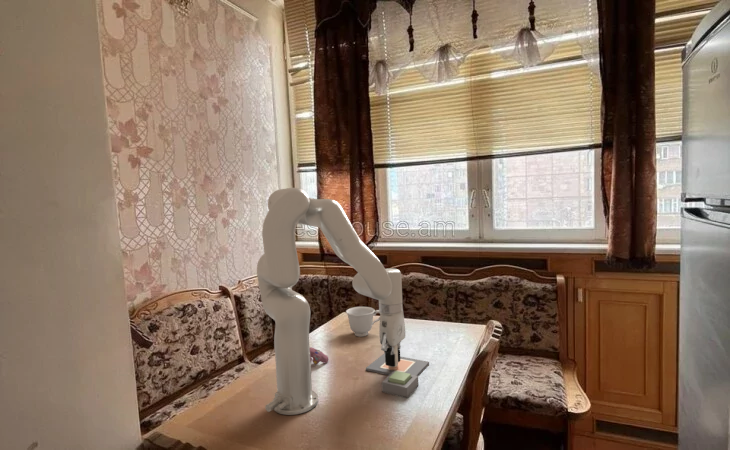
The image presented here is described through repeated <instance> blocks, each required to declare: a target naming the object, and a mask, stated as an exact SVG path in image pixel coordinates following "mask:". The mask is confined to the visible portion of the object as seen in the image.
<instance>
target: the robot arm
mask: <svg viewBox="0 0 730 450" xmlns="http://www.w3.org/2000/svg"><path fill="white" fill-rule="evenodd" d="M267 208H268V211H267V214H266V215H265V218H264V220H263V224H262V230H261V231H262V233H261V235H262V245H263V252H264V253H263V254H262V255H261V256H260V258H259V259H258V261H257V263H256V276H257V283H258V288H259V289H258V290H259V294H260V299H261V304H262V307H263V310H264V312H265V313H266V315H267V316H269V317H270V318H271V319H273V321H274V322H275V323H274V324H275V326H274V336H273V340H274V341H273V344H274V345H273V347H274V355H275V356H274V357H275V358H274V359H275V374H276V375H275V376H276V389H277V391H276V392H275V393H274V398H272V401H270V402H269V403H266V404H265V411H266V412H267V413H270V412H272V411H274V412H275V413H278V414H280V415H284V416H285V415H286V416H294V415H299V414H304V413H307V412H308V411H311V410H312V409H313V408H315V407H316V405H317V404H318V403H319V395H318V394H317V392H316V391H313V387H312V386H313V385H312V384H313V383H312V365H311V363H312V362H310V347H311V346H310V322H311V308H310V303H309V302H308V300H307V299H306V298H305V297H304V296H303V295H302V294H300V293H299V292H296V291H295V290H293V287H294V286H295V285H296V284H297V283H298V282H299V280H300V277H301V268H300V263H299V257H298V252H297V251H298V250H297V245H296V227H297V225H298V224H300V225H304V226H310V227H315V228H319V229H320V231H321V233H322V234H323V235H324V237H325V239H326V240H327V242H328V243H329V246H330V247H331V249H332V250H333V252H334V254H335V255H336V256H337V257H338V258H339V259H340V260H342V261H343V262H344V263H346V264H347V265H349V266H350V267H352V268H353V269H354V270H355V271H356V272H357V273H356V274H355V275H354V276H353V277H352V282H351V284H352V288H353V289H354V290H355V292H357V293H358V294H359V295H363V296H365V297H368V298H370V299H371V298H372V299H374V300H377V301H378V310H379V313H378V314H379V317H380V320H379V343H380V345H381V347H380V350H381V351H383V352H384V353H383V354H385V363H386V365H387V366H392V367H394V366H395V354H393V353H394V346H396V345H397V346H398V362H400V357H401V342H403V340H404V339H405V338H406V323H405V316H404V309H403V286H402V283H403V282H402V272H401V271H400V269H397V268H385V266H384V264H383V263H382V262H381V260H380V259H379V258H378V256H377V255H375V253H374V252H373V251H372V250H371V249H370V248H369V247H368V246H367V245H366V244H365V243H364V242H363V241H362V239H361V238H360V237H359V235H358V233H357V232H356V230H355V228H354V226H353V225H352V222H351V221H350V219H349V217H348V216H347V214H346V211H345V210H344V209H343V207H342V205H341V204H340V203H339V202H338V201H336V200H335V199H330V198H320V199H319V198H318V199H317V198H313V197H310V196H309V194H308V193H307V191H305V190H304V189H302V188H298V187H289V188H280V189H277V190H275V191H273V192H272V193H271V194H270V195H269V197H268V199H267ZM387 342H388V343H389V344H388V343H387ZM388 347H391V350H390V348H388Z"/></svg>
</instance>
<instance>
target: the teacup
mask: <svg viewBox="0 0 730 450" xmlns="http://www.w3.org/2000/svg"><path fill="white" fill-rule="evenodd" d="M345 313H346V314H347V318H348V323H349V328H350V330H351V331H352V332H353V333H354V336H356V337H360V338H361V337H367V336H368V335H369V331H371V330H372V329H373V325H374V324H375V323H377V322H380V316H379V317H378V318H376V319H375V320H373V319H374V316H375V317H376V315H377V314H380V313H379V309H376V310H375V308H373V307H370V306H354V307H350V308H348V309H346V310H345Z"/></svg>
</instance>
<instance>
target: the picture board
mask: <svg viewBox="0 0 730 450" xmlns="http://www.w3.org/2000/svg"><path fill="white" fill-rule="evenodd" d="M429 365H430V361H426V360H421V359H416V358H410V357H405V356H400V362H398V369H397V370H390V369H389V368H388V366H387V365H386V363H385V353H383V354H382V355H380V356H379V357H377V358H376V359H375V360H374V361H372V362H371V363H370V364H369V365H368V366H367V367H365V371H368V372H373V373H377V374H381V375H386V376H389V375H390V374H391V373H392V372H393V371H399V372H404V373H409V374H411V375H415V376H418V377H419V376H420V375H421V374H422V373H423V371H424V370H425V369H426V368H428V366H429Z"/></svg>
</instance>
